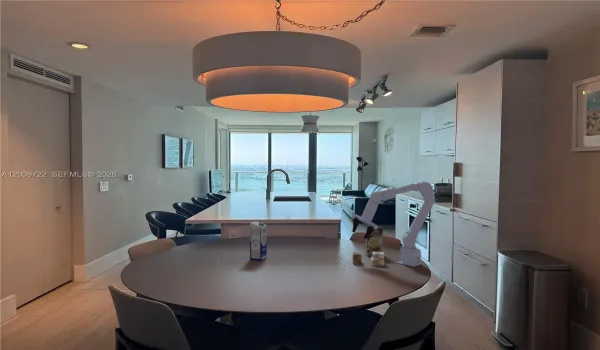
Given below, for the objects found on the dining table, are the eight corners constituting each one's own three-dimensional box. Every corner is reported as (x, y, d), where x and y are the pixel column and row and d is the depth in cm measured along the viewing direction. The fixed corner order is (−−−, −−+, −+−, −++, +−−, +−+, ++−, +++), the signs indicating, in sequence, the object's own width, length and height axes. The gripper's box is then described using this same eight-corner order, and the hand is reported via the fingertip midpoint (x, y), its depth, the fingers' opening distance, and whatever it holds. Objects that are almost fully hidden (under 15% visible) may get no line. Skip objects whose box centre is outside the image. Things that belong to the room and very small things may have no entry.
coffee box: (366, 255, 207) (366, 227, 207) (365, 253, 214) (365, 226, 214) (382, 256, 207) (382, 228, 206) (381, 253, 213) (381, 226, 213)
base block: (383, 263, 193) (383, 257, 193) (384, 266, 187) (384, 260, 187) (370, 262, 194) (370, 256, 194) (371, 265, 188) (371, 260, 188)
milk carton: (255, 256, 202) (255, 220, 202) (266, 257, 200) (267, 221, 200) (249, 259, 196) (250, 222, 195) (261, 260, 193) (261, 223, 193)
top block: (383, 257, 193) (383, 252, 193) (383, 260, 187) (383, 254, 187) (372, 257, 193) (372, 251, 193) (372, 259, 188) (372, 254, 188)
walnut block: (361, 262, 194) (361, 252, 194) (361, 264, 189) (361, 254, 189) (352, 261, 194) (352, 252, 194) (352, 263, 190) (352, 254, 190)
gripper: (354, 206, 196) (344, 229, 198) (377, 218, 188) (367, 241, 189) (360, 207, 202) (351, 229, 203) (383, 218, 193) (372, 241, 195)
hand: (359, 235), depth 196 cm, fingers open, 7 cm apart
